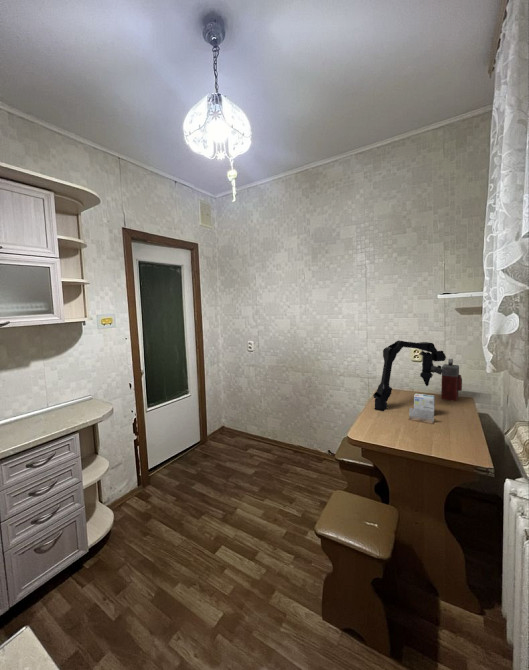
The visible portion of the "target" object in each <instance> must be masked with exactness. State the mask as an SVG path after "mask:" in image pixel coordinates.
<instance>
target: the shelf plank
mask: <svg viewBox="0 0 529 670" xmlns="http://www.w3.org/2000/svg"><path fill="white" fill-rule="evenodd" d="M408 421H412V422H419V423H424V424H429V425H430V424H431V425H434V423H435V421H434V422H433V421H427V420H421V419H415V418H408Z"/></svg>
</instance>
